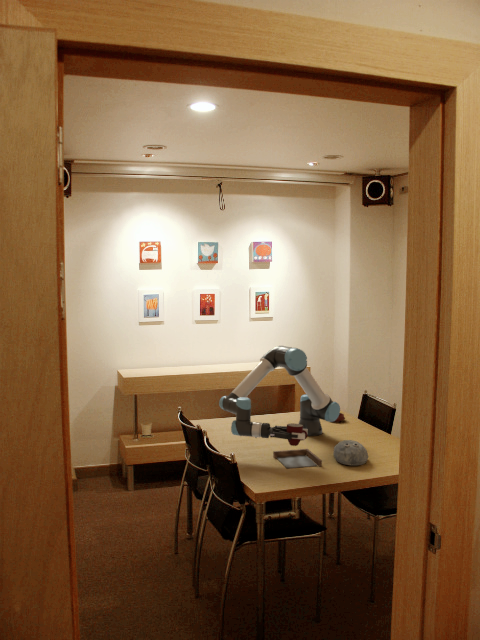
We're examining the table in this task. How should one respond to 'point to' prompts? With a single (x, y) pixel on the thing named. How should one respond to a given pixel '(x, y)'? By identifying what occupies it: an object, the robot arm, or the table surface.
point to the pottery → (340, 418)
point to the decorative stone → (350, 453)
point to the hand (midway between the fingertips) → (306, 434)
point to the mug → (295, 429)
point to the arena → (297, 458)
